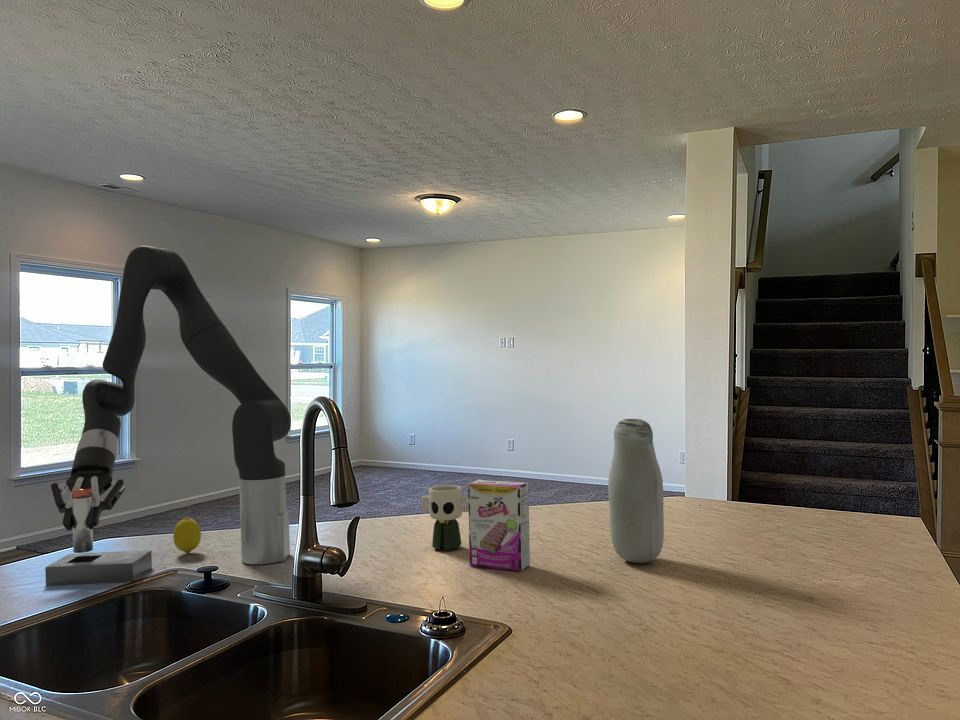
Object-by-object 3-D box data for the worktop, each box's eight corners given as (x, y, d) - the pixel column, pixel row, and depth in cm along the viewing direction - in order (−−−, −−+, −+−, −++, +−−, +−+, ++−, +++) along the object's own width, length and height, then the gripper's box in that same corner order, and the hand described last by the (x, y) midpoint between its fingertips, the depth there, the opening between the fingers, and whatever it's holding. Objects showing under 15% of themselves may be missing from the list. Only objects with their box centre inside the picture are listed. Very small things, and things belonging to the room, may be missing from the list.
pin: (96, 547, 142) (94, 487, 142) (88, 552, 139) (86, 490, 139) (78, 548, 142) (77, 487, 142) (69, 553, 138) (68, 491, 138)
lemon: (191, 557, 152) (190, 520, 152) (168, 557, 153) (167, 519, 153) (206, 550, 157) (205, 514, 157) (184, 550, 158) (183, 514, 158)
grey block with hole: (151, 567, 146) (151, 550, 146) (133, 581, 136) (132, 563, 136) (70, 571, 144) (69, 553, 144) (45, 585, 135) (45, 567, 135)
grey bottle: (672, 559, 141) (669, 417, 141) (646, 572, 134) (642, 422, 133) (629, 551, 148) (625, 415, 148) (601, 562, 140) (597, 419, 140)
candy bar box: (468, 567, 140) (466, 483, 140) (479, 560, 144) (477, 478, 144) (521, 573, 135) (519, 486, 135) (531, 565, 140) (529, 481, 140)
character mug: (417, 551, 152) (415, 490, 152) (428, 542, 159) (426, 484, 159) (466, 554, 149) (464, 491, 149) (475, 545, 156) (474, 485, 156)
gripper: (53, 446, 146) (33, 519, 134) (129, 443, 149) (115, 514, 137) (62, 468, 151) (43, 541, 139) (135, 465, 154) (123, 535, 143)
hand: (79, 527), depth 138 cm, fingers closed on pin, 3 cm apart
